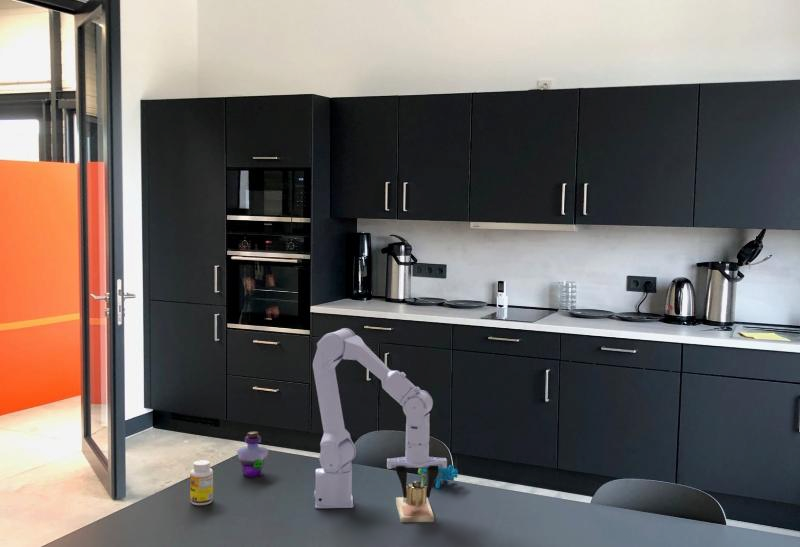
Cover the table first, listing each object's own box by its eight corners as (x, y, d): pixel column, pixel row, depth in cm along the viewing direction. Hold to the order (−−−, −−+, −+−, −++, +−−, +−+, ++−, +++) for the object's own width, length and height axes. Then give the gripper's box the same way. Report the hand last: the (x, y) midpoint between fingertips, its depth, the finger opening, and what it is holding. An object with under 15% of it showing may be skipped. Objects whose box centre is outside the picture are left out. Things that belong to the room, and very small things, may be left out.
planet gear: (406, 506, 190) (407, 485, 189) (404, 498, 195) (405, 478, 194) (427, 506, 190) (428, 485, 190) (425, 498, 195) (425, 478, 195)
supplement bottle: (188, 499, 200) (188, 460, 199) (210, 496, 202) (211, 457, 201) (191, 507, 195) (191, 467, 194) (214, 504, 197) (214, 464, 196)
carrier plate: (400, 522, 189) (401, 516, 188) (395, 501, 201) (395, 497, 201) (434, 521, 189) (434, 516, 189) (426, 501, 202) (426, 496, 202)
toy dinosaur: (462, 476, 217) (452, 458, 210) (460, 496, 213) (449, 479, 206) (425, 476, 221) (413, 458, 214) (421, 496, 217) (410, 478, 210)
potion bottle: (253, 482, 213) (253, 438, 212) (230, 475, 218) (230, 433, 217) (274, 473, 221) (275, 431, 220) (252, 467, 225) (252, 426, 224)
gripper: (389, 447, 187) (387, 502, 188) (449, 446, 188) (448, 501, 189) (386, 438, 194) (385, 492, 195) (444, 437, 195) (443, 491, 196)
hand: (416, 496), depth 193 cm, fingers closed on planet gear, 5 cm apart
